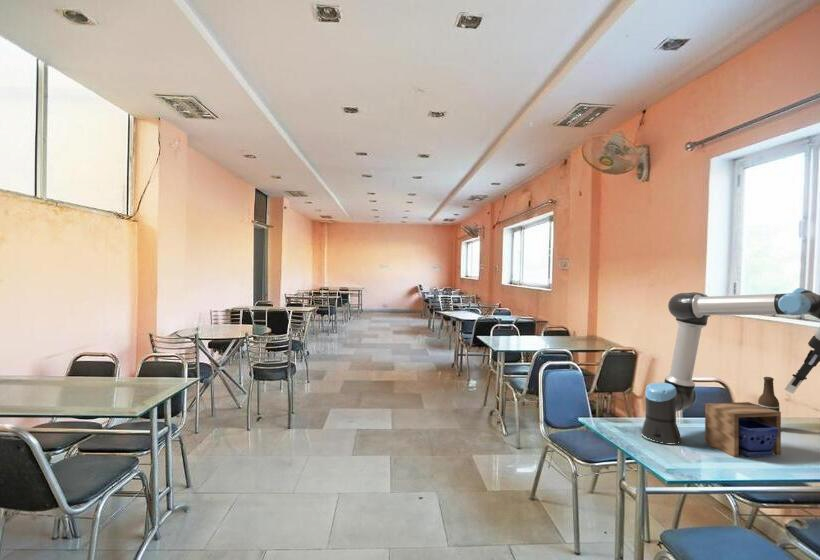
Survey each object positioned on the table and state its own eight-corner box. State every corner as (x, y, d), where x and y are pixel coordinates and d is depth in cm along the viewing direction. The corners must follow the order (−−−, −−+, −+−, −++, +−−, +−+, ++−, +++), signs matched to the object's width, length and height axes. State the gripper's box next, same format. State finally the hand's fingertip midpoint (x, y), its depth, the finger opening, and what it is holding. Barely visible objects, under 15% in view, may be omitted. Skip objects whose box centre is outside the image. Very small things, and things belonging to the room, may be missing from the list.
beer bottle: (784, 431, 197) (784, 379, 198) (767, 431, 198) (767, 379, 198) (770, 425, 205) (770, 375, 205) (753, 425, 205) (753, 375, 205)
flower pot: (720, 446, 179) (720, 418, 179) (750, 445, 180) (750, 417, 180) (748, 459, 166) (748, 429, 166) (780, 458, 167) (779, 428, 167)
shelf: (780, 454, 171) (780, 412, 171) (734, 457, 168) (734, 413, 168) (748, 441, 185) (748, 402, 185) (705, 443, 182) (705, 403, 182)
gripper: (838, 351, 146) (798, 403, 156) (842, 341, 154) (803, 391, 165) (811, 339, 151) (773, 390, 161) (816, 330, 159) (780, 379, 169)
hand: (789, 391), depth 163 cm, fingers closed
